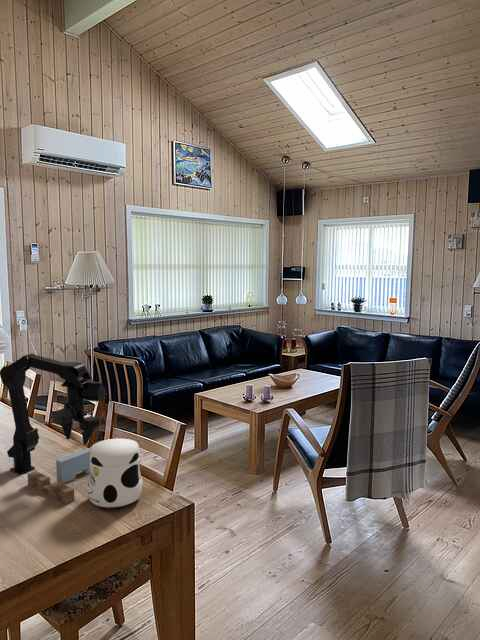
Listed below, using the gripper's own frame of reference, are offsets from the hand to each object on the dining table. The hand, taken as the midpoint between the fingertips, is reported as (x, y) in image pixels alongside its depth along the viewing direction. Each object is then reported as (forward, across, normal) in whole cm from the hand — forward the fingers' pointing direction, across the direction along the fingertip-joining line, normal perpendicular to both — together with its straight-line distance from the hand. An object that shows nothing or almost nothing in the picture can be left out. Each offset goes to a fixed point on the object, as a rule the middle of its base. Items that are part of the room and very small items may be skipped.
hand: (76, 441), depth 176 cm
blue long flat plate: (+13, -1, +1) cm, 13 cm away
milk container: (+13, +24, -4) cm, 28 cm away
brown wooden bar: (+13, +3, -13) cm, 18 cm away
